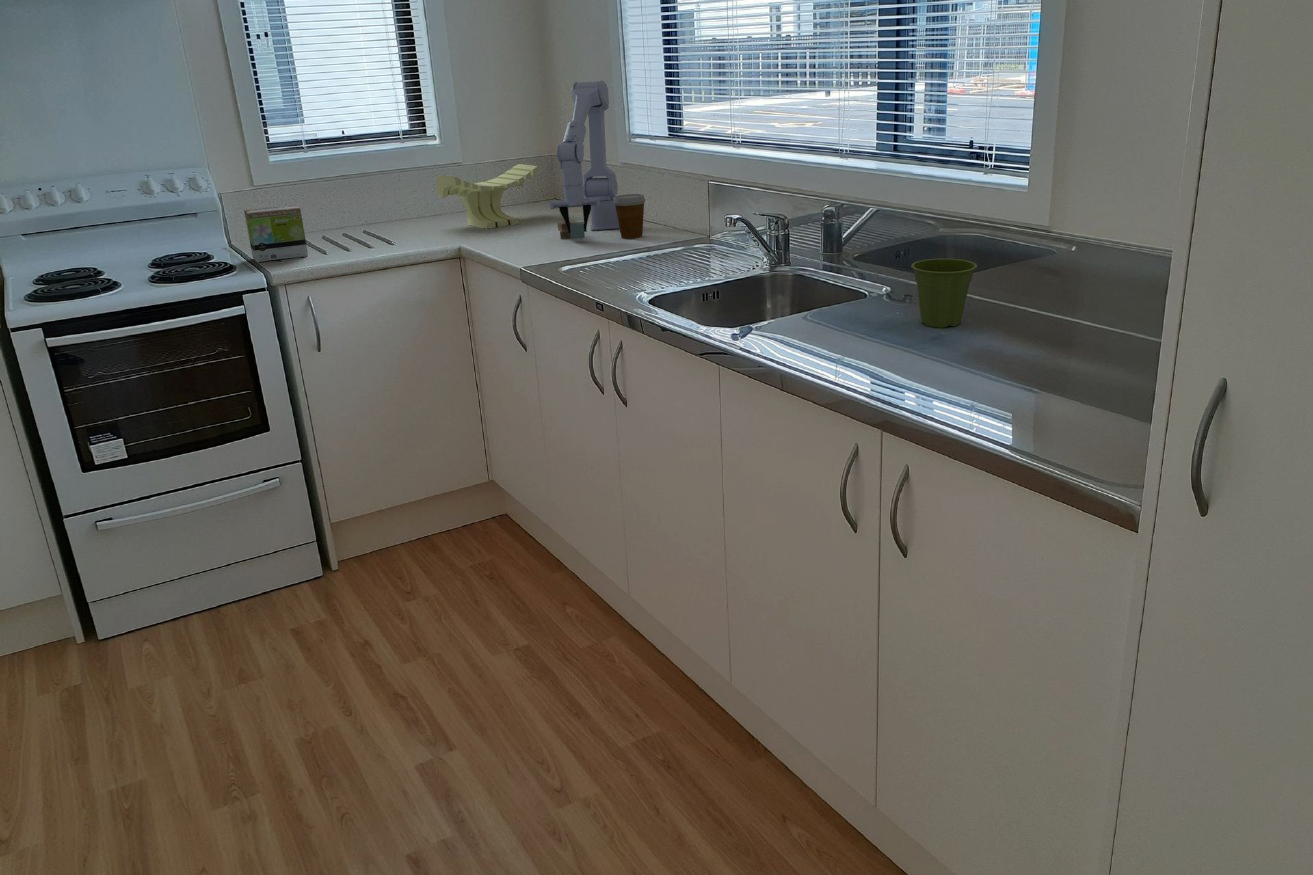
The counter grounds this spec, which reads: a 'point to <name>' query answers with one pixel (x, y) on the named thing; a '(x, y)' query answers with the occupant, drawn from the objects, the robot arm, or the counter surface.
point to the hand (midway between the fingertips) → (577, 231)
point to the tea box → (276, 233)
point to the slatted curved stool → (485, 195)
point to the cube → (577, 230)
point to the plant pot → (942, 290)
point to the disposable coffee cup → (630, 215)
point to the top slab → (563, 226)
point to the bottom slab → (565, 235)
